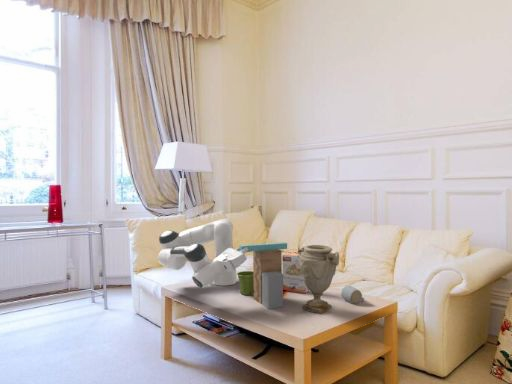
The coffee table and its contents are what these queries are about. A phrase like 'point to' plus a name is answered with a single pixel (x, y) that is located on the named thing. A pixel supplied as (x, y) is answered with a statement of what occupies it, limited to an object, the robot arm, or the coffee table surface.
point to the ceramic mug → (352, 294)
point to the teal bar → (264, 247)
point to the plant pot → (246, 282)
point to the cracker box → (292, 274)
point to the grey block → (272, 289)
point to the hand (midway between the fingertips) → (245, 247)
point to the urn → (317, 274)
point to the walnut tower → (264, 268)
